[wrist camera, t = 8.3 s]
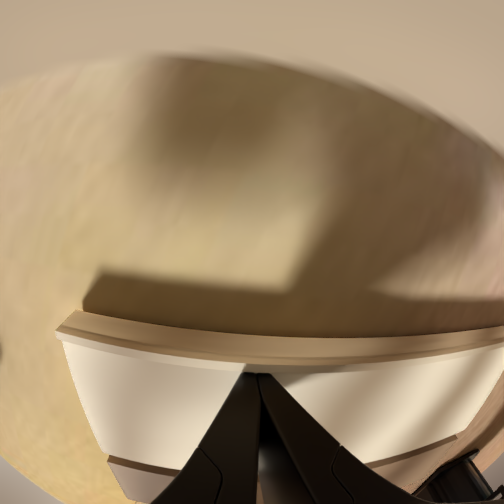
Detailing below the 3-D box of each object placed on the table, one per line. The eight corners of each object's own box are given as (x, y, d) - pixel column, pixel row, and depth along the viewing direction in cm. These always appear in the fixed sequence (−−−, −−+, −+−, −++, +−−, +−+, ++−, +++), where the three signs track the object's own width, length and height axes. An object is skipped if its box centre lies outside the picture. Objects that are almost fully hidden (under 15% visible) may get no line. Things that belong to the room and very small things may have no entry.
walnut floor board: (452, 423, 11) (460, 434, 10) (416, 469, 13) (422, 479, 12) (111, 440, 10) (105, 457, 8) (131, 484, 11) (127, 498, 10)
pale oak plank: (507, 324, 9) (523, 336, 8) (456, 418, 11) (466, 431, 10) (75, 309, 8) (54, 330, 6) (109, 434, 10) (101, 456, 8)
